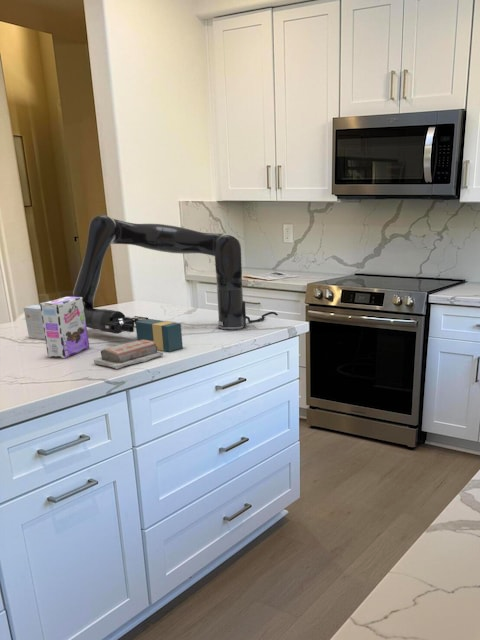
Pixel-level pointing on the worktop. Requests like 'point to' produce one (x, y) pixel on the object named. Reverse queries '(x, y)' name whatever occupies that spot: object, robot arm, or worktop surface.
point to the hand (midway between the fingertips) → (142, 326)
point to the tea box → (160, 333)
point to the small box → (34, 321)
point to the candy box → (64, 326)
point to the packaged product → (128, 354)
